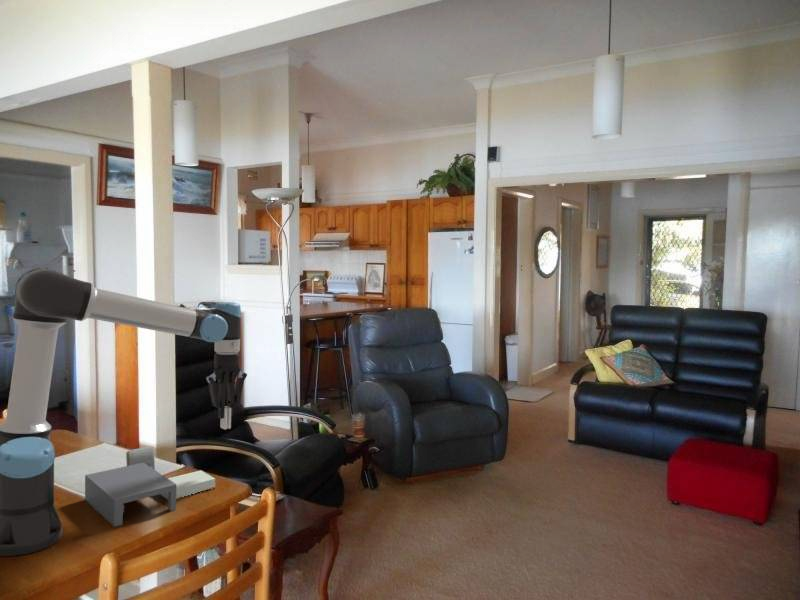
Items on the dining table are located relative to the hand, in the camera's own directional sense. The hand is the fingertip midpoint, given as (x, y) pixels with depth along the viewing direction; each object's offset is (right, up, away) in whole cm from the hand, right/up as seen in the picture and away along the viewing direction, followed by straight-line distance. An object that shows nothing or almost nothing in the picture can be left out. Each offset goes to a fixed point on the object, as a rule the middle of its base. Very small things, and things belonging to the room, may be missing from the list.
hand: (225, 427), depth 179 cm
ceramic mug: (-28, -15, +4) cm, 32 cm away
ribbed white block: (-9, -17, -8) cm, 21 cm away
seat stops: (-23, -17, -22) cm, 36 cm away
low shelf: (-21, -17, -19) cm, 33 cm away
